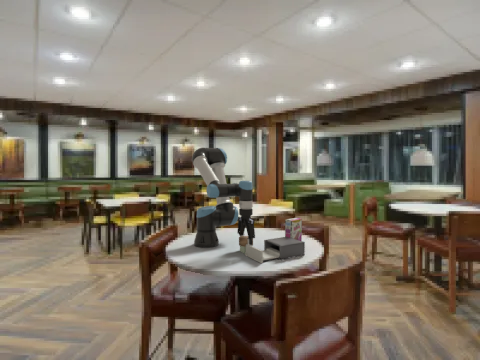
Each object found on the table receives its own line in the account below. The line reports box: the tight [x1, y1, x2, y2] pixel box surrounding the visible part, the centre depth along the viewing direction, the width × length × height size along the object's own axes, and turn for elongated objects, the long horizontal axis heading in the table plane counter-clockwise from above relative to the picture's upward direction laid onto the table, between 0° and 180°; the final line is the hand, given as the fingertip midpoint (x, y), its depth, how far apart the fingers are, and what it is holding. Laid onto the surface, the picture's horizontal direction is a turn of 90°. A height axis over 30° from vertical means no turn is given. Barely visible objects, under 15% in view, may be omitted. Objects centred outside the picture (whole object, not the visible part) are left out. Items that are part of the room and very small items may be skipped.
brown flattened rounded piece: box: [238, 235, 254, 247], centre depth 164 cm, size 8×8×4 cm
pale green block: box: [239, 245, 246, 254], centre depth 164 cm, size 5×5×4 cm
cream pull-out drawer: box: [245, 244, 280, 264], centre depth 154 cm, size 16×15×6 cm
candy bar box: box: [284, 217, 303, 241], centre depth 176 cm, size 11×5×16 cm, turn 135°
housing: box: [263, 236, 306, 261], centre depth 160 cm, size 16×15×7 cm
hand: (246, 248), depth 164 cm, fingers closed on brown flattened rounded piece, 8 cm apart
